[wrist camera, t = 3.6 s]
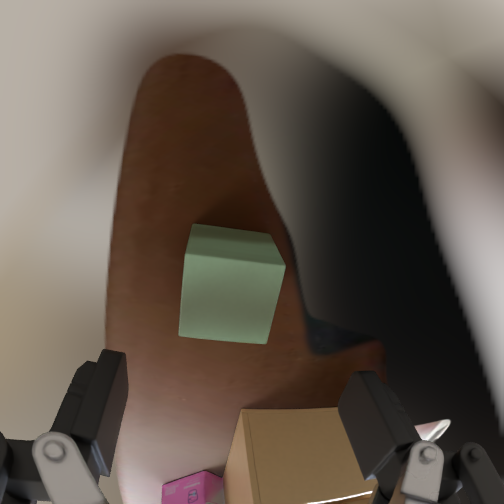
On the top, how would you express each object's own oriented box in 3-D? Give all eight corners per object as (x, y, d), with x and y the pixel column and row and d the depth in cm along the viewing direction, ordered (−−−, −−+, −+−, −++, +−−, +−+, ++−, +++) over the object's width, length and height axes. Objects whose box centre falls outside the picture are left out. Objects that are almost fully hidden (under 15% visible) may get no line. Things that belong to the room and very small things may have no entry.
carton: (241, 408, 24) (255, 517, 14) (365, 404, 26) (406, 489, 16) (222, 476, 28) (229, 552, 19) (319, 472, 30) (338, 538, 21)
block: (192, 222, 17) (184, 253, 13) (270, 233, 18) (286, 265, 14) (184, 292, 19) (178, 336, 15) (256, 300, 20) (266, 344, 15)
